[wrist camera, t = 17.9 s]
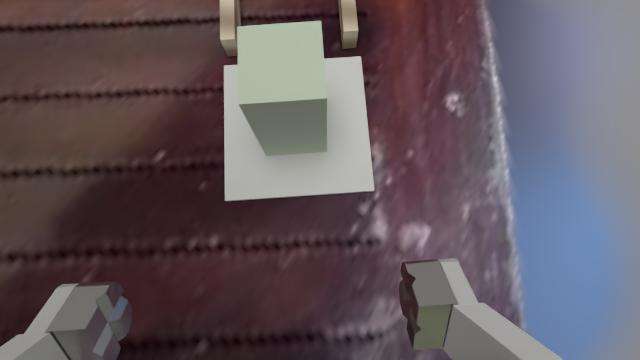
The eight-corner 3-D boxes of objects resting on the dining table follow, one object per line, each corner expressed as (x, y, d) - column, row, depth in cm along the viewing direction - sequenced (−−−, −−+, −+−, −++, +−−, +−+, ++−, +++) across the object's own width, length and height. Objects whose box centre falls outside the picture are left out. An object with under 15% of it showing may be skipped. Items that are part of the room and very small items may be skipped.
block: (326, 151, 31) (326, 98, 21) (266, 156, 31) (238, 104, 21) (322, 95, 32) (321, 20, 22) (264, 100, 32) (237, 26, 22)
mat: (373, 191, 30) (374, 190, 30) (225, 201, 30) (224, 200, 30) (360, 58, 33) (360, 56, 33) (224, 67, 33) (223, 65, 33)
